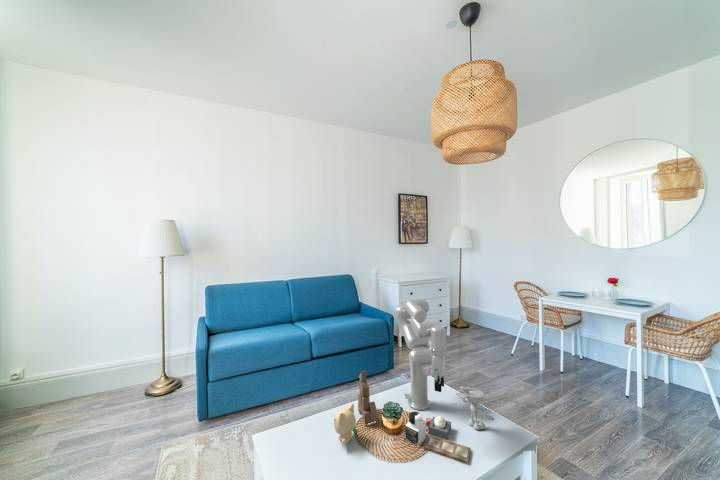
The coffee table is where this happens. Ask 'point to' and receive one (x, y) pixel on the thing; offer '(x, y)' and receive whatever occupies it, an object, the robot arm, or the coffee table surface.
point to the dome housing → (440, 430)
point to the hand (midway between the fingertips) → (439, 388)
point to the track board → (448, 449)
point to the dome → (440, 422)
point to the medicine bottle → (415, 428)
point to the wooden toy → (365, 401)
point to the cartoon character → (474, 406)
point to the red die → (428, 421)
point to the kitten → (345, 424)
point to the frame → (426, 440)
